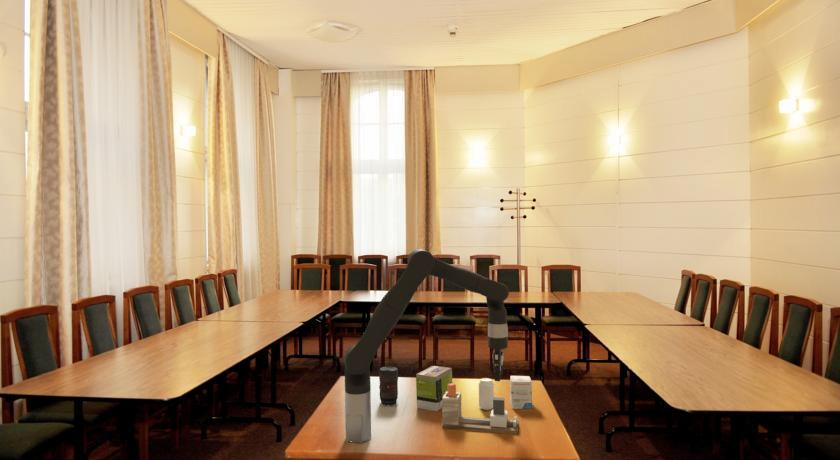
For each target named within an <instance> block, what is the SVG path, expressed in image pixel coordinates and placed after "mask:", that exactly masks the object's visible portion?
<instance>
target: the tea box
mask: <svg viewBox="0 0 840 460" xmlns="http://www.w3.org/2000/svg"><path fill="white" fill-rule="evenodd" d="M450 383H453V368H452V367H446V366H438V365H431V366H429V367H427V368H426V369H424V370H421V371H420V372H417V373H416V374H415V386H416V387H415V388H416V408H417V409H420V408H421V410H425V411H432V412H438V411H439V410H442V397H443V396H444V394H445V392H446V391H448V384H450Z"/></svg>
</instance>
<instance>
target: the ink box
mask: <svg viewBox="0 0 840 460" xmlns="http://www.w3.org/2000/svg"><path fill="white" fill-rule="evenodd" d="M509 379H510V380H509V382H510V383H509V384H510V387H509V388H510V389H509V390H510V391H509V392H510V394H509V395H510V396H509V397H510V405H511V409H512V410H533V386H532V382H533V381H532V379H531V377H530V376H529V375H510V377H509Z"/></svg>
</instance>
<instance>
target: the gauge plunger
mask: <svg viewBox="0 0 840 460" xmlns="http://www.w3.org/2000/svg"><path fill="white" fill-rule="evenodd" d="M456 392H457V384H456V383H453V382H452V383H450V384H448V397H456Z"/></svg>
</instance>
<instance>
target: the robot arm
mask: <svg viewBox="0 0 840 460" xmlns="http://www.w3.org/2000/svg"><path fill="white" fill-rule="evenodd" d="M406 259H407V266H406V267H405V269H404V270H403V272H402V274H401V275H400V277H399V279H398V280H397V282H395V284H394V285H393V286H392V287H391V288H390V289H389V290H388V291H386V293H385V295H384V296H383V297H382V299H381V300H380V301H379V303H378V305H377V306H376V308H375V309H374V311H373V313H372V314H371V318H370V319H369V321H368V323H367V326H366V329H365V330H364V333H363V334H362V336H361V337H360V339H358V342H357V343H356V344H354V345H353V344H352V345H351V346H349V348H348V347H347V350H346V351H345V353H344V412H345V414H344V415H345V416H344V417H345V419H344V420H345V423H344V424H345V441H352V442H351V443H353V442H359V443H358V444H364V441H365V442H367V441H369V440H371V439H372V408H371V407H372V405H371V404H372V403H371V401H372V399H371V397H372V396H371V393H372V392H371V367H370V366H371V364H372V362H373V360H374V357H375V356H376V354H377V352H378V351H379V349H380V347H381V346H382V344H383V343H384V342H385V339H386V338H387V337H388V336H389V335H390V333H391V332H392V330H393V329H394V327H395V326H396V325H397V323H398V322H399V320H400V319H401V318H402V315H403V314H404V312H405V311H406V308H408V305H409V304H410V303H411V301H412V298H413V297H414V295H415V293H416V291H417V289H418V288H419V287H420V285H421V284H422V283H423V282H424V281H425V279H426V278H427V277H428V276H432V277H435V278H439V279H441V280H444V281H446V282H448V283H450V284H452V285H455V286H456V287H459V288H462V289H463V290H467V291H469V292H472V293H474V294H479V295H481V296H483V297H485V299H486V305H487V310H488V311H487V313H488V314H487V315H488V316H487V317H488V318H487V321H488V322H487V323H488V326H487V347H488V348H489V349H492V350H494V351H492V370H493V374H494V375H493V376H494V378H493V379H494V381H495V382H501V380H502V379H501V378H502V377H501V376H502V375H503V364H504V355H505V353H504V350H505V349H508V348H509V328H508V313H507V309H506V307H505V300H507V299H508V297H509V295H510V291H509V288H508V286H507V285H506V284H504V283H501V282H499V281H497V280H496V281H495V280H493V279H490V278H487V277H485V276H483V275H481V274H479V273H476V272H474V271H472V270H468V269H465V268H462V267H459V266H456V265H452V264H450V263H447V262H445V261H443V260H440V259H438V258H437V257H435V256H433V254H432V252H430V251H428V250H425V249H421V248H419V249H418V248H417V249H415V250H412V251H411V252H410V253H409V254H408V256H407V258H406Z"/></svg>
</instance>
